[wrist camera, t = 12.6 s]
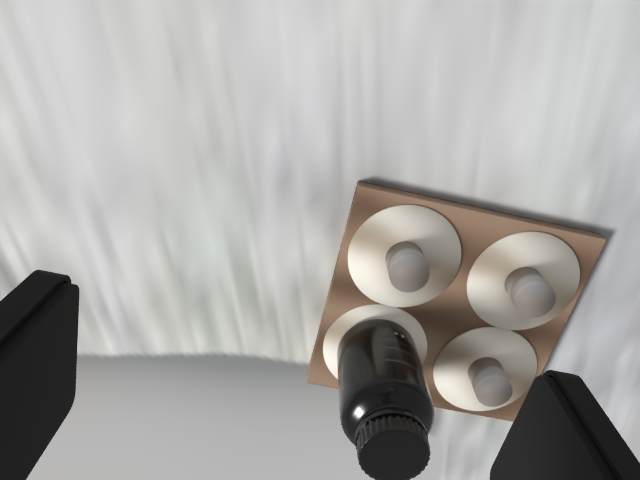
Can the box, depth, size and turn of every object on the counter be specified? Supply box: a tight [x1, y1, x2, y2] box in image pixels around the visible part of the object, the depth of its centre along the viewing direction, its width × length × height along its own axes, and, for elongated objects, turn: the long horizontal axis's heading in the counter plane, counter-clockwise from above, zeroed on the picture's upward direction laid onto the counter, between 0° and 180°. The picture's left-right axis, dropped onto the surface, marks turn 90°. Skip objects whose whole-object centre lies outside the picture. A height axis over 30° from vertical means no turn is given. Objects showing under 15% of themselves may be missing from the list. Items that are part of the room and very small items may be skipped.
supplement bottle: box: [337, 319, 434, 480], centre depth 39 cm, size 7×7×12 cm
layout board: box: [307, 181, 606, 422], centre depth 43 cm, size 19×20×4 cm
